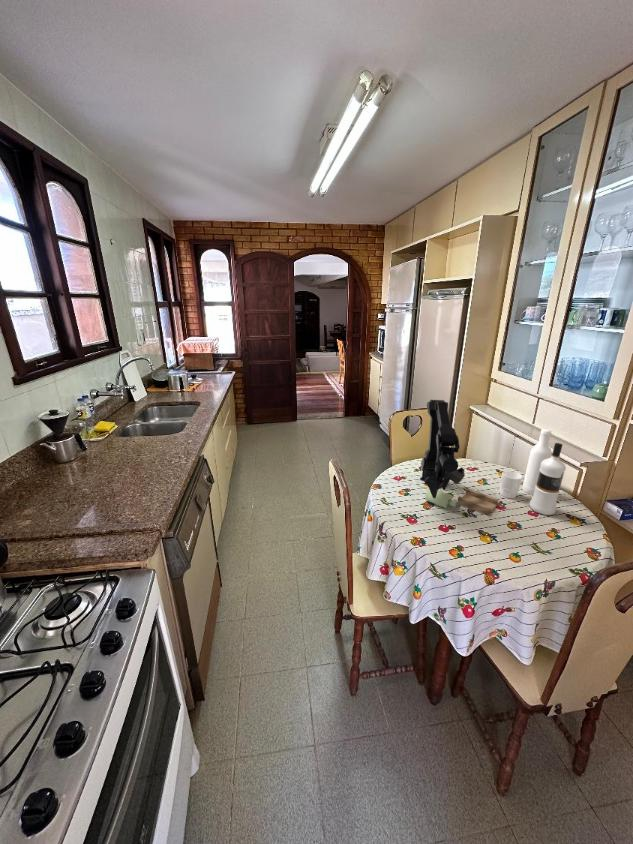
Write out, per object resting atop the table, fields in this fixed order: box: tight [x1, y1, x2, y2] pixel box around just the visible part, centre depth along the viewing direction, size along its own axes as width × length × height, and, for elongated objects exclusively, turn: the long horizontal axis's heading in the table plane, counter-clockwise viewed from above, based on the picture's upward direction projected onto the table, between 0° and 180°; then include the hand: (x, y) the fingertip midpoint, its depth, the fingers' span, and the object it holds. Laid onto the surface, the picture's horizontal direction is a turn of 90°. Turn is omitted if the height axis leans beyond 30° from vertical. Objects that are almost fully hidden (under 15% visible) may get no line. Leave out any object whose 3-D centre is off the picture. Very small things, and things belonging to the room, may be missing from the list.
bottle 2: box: [521, 428, 553, 496], centre depth 154 cm, size 8×8×30 cm
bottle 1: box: [424, 488, 461, 510], centre depth 146 cm, size 13×6×6 cm, turn 46°
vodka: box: [529, 442, 567, 516], centre depth 140 cm, size 9×9×30 cm
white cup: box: [499, 470, 523, 499], centre depth 154 cm, size 8×8×10 cm
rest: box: [456, 488, 499, 517], centre depth 148 cm, size 13×10×3 cm
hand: (439, 493), depth 147 cm, fingers open, 9 cm apart
